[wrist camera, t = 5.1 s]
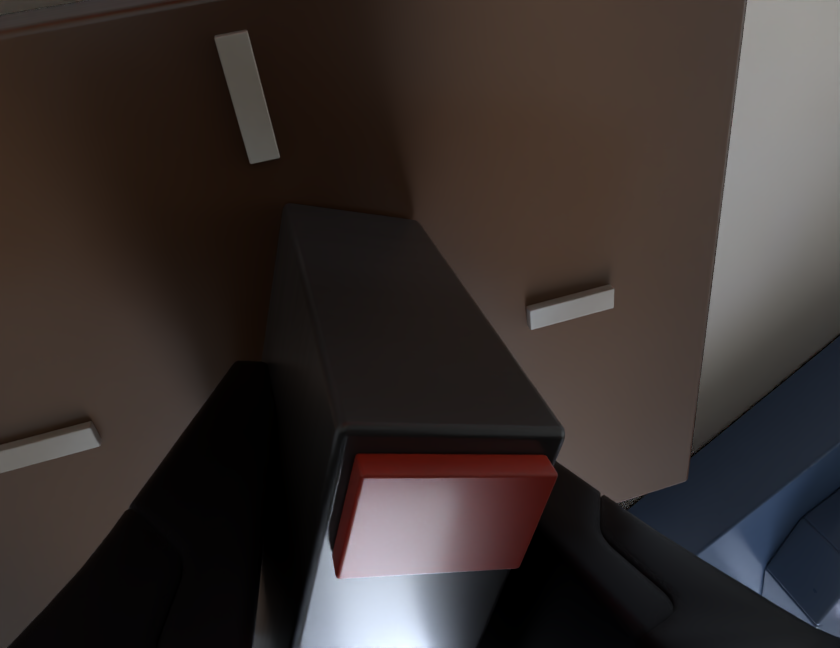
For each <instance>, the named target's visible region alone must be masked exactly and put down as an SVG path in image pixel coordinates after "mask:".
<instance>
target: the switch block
mask: <svg viewBox="0 0 840 648" xmlns="http://www.w3.org/2000/svg"><path fill="white" fill-rule="evenodd" d="M627 511H628V512H630V513H631V514H633V515H634V516H636V517H637V518H639V519H640V520H642V521H643V522H645V523H646V524H648V525H649V526H651V527H652V528H653V529H655V530H656V531H658V532H659V533H661V534H662V535H664V536H666V537H667V538H669V539H670V540H672V541H674V542H675V543H677V544H678V545H680V546H682V547H683V548H685V549H686V550H688V551H690V552H691V553H693V554H694V555H696V556H698V557H699V558H701V559H702V560H704V561H706V562H707V563H709V564H711V565H712V566H714V567H716V568H717V569H719V570H721V571H722V572H724V573H725V574H727V575H729V576H730V577H732V578H734V579H735V580H737V581H739V582H740V583H742V584H744V585H745V586H747V587H748V588H750V589H752V590H753V591H755V592H757V593H758V594H760V595H762V596H763V597H765V598H767V599H768V600H770V601H771V602H773V603H775V604H776V605H778V606H780V607H781V608H783V609H785V610H786V611H788V612H790V613H791V614H793V615H794V616H796V617H798V618H800V619H801V620H803V621H805V622H807V623H808V624H810V625H812V626H814V627H816V628H818V629H820V630H823V631H825V632H827V633H829V634H831V635H834V636H837V637H839V638H840V336H839V337H838V338H837V339H835V340H834V341H833V342H832V343H830V344H829V345H828V346H827V347H826V348H824V349H823V350H822V351H821V352H820V353H818V354H817V355H816V356H815V357H813V358H812V359H811V360H810V361H809V362H807V363H806V364H805V365H804V366H802V367H801V368H800V369H799V370H798V371H796V372H795V373H794V374H793V375H791V376H790V377H789V378H788V379H787V380H785V381H784V382H783V383H782V384H781V385H779V386H778V387H777V388H776V389H774V390H773V391H772V392H771V393H770V394H768V395H767V396H766V397H765V398H763V399H762V400H761V401H760V402H759V403H757V404H756V405H755V406H754V407H752V408H751V409H750V410H749V411H748V412H746V413H745V414H744V415H743V416H742V417H740V418H739V419H738V420H737V421H735V422H734V423H733V424H732V425H731V426H729V427H728V428H727V429H726V430H724V431H723V432H722V433H721V434H720V435H718V436H717V437H716V438H715V439H713V440H712V441H711V442H710V443H709V444H707V445H706V446H705V447H704V448H703V449H701V450H700V451H699V452H698V453H696V454H695V455H694V456H693V457H692V458H690V466H689V474H688V479H687V480H686V481H685V482H683V483H679V484H676V485H673V486H670V487H667V488H664V489H661V490H658V491H654V492H651V493H648V494H646V495H645V496H644V497H643V498H642V499H640V500H639V501H638V502H637V503H635V504H634V505H633V506H632V507H631V508H629V509H628V510H627Z"/></svg>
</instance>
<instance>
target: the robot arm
mask: <svg viewBox="0 0 840 648" xmlns="http://www.w3.org/2000/svg"><path fill="white" fill-rule="evenodd" d="M275 426H276V407H275V401H274V396H273V391H272V387H271V382H270V377H269V372H268V367H267V364H266V363H265V362H262V361H236V362H234V364H233V365H232V366H231V367H230V369H229V370H228V372H227V373H226V374H225V376H224V377H223V378H222V380H221V381H220V382H219V384H218V385H217V387H216V388H215V389H214V391H213V392H212V393H211V395H210V396H209V398H208V399H207V400H206V402H205V403H204V404H203V406H202V407H201V408H200V410H199V411H198V413H197V414H196V415H195V417H194V418H193V419H192V421H191V422H190V423H189V425H188V426H187V428H186V429H185V430H184V432H183V433H182V434H181V436H180V437H179V439H178V440H177V441H176V443H175V444H174V445H173V447H172V448H171V449H170V451H169V452H168V454H167V455H166V456H165V458H164V459H163V460H162V462H161V463H160V464H159V466H158V467H157V469H156V470H155V471H154V473H153V474H152V475H151V477H150V478H149V480H148V481H147V482H146V484H145V485H144V486H143V488H142V489H141V490H140V492H139V493H138V495H137V496H136V497H135V499H134V500H133V501H132V503H131V504H130V506H129V509H128V510H126V511H125V512H124V513H123V515H122V516H121V517H120V519H119V520H118V521H117V523H116V524H115V525H114V527H113V528H112V530H111V531H110V532H109V534H108V535H107V536H106V537H105V539H104V540H103V541H102V543H101V544H100V545H99V546H98V548H97V549H96V550H95V551H94V553H93V554H92V555H91V556H90V558H89V559H88V560H87V561H86V563H85V564H84V565H83V566H82V568H81V569H80V570H79V571H78V572H77V573H76V574H75V575H74V577H73V578H72V579H71V580H70V581H69V582H68V583H67V584H66V585H65V586H64V588H63V589H62V590H61V591H60V592H59V593H58V594H57V595H56V596H55V597H54V599H53V600H52V601H51V602H50V603H49V604H48V605H47V606H46V607H45V608H44V610H43V611H42V612H41V613H40V614H39V615H38V616H37V617H36V618H35V619H34V620H33V621H32V622H31V623H30V624H29V625H28V626H27V627H26V628H25V629H24V630H23V631H22V632H21V634H20V635H19V636H18V637H17V638H16V639H15V640H14V641H13V642H12V643H11V644H10V645H9V646H8V647H7V648H253V647H254V637H255V627H256V617H257V607H258V597H259V587H260V577H261V567H262V557H263V547H264V537H265V527H266V517H267V507H268V497H269V487H270V477H271V466H272V456H273V446H274V436H275ZM553 467H554V468H555V470H556V471H557V474H558V477H557V480H556V482H555V484H554V487H553V489H552V491H551V494H550V496H549V499H548V501H547V503H546V506H545V508H544V510H543V513H542V515H541V517H540V520H539V522H538V525H537V527H536V529H535V532H534V534H533V536H532V539H531V541H530V544H529V546H528V548H527V551H526V553H525V555H524V558H523V560H522V563H521V565H520V567H519V568H517V569H511V570H510V573H509V575H508V577H507V580H506V582H505V585H504V587H503V590H502V592H501V594H500V597H499V599H498V602H497V604H496V606H495V609H494V611H493V614H492V616H491V619H490V621H489V623H488V626H487V628H486V631H485V633H484V635H483V638H482V640H481V643H480V645H479V648H840V638H839V637H837V636H834V635H831V634H829V633H827V632H825V631H823V630H820V629H818V628H816V627H814V626H812V625H810V624H808V623H807V622H805V621H803V620H801V619H800V618H798V617H796V616H794V615H793V614H791V613H790V612H788V611H786V610H785V609H783V608H781V607H780V606H778V605H776V604H775V603H773V602H771V601H770V600H768V599H767V598H765V597H763V596H762V595H760V594H758V593H757V592H755V591H753V590H752V589H750V588H748V587H747V586H745V585H744V584H742V583H740V582H739V581H737V580H735V579H734V578H732V577H730V576H729V575H727V574H725V573H724V572H722V571H721V570H719V569H717V568H716V567H714V566H712V565H711V564H709V563H707V562H706V561H704V560H702V559H701V558H699V557H698V556H696V555H694V554H693V553H691V552H690V551H688V550H686V549H685V548H683V547H682V546H680V545H678V544H677V543H675V542H674V541H672V540H670V539H669V538H667V537H666V536H664V535H662V534H661V533H659V532H658V531H656V530H655V529H653V528H652V527H651V526H649V525H648V524H646V523H645V522H643V521H642V520H640V519H639V518H637V517H636V516H634V515H633V514H631V513H630V512H628V511H627V510H625V509H624V508H623V507H621V506H620V505H618V504H617V503H616V502H614V501H613V500H611V499H610V498H609V497H607V496H606V495H602V496H601V494H600V492H599V491H598V490H597V489H595V488H594V487H593V486H591V485H590V484H588V483H587V482H585V481H584V480H583V479H581V478H580V477H578V476H577V475H575V474H574V473H573V472H571V471H570V470H568V469H567V468H565V467H564V466H563V465H561V464H560V463H558V462H557V461H555V464H554V466H553Z"/></svg>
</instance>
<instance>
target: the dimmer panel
mask: <svg viewBox="0 0 840 648" xmlns="http://www.w3.org/2000/svg"><path fill="white" fill-rule="evenodd" d="M746 5H747V0H87V1H81V2H75V3H69V4H63V5H58V6H52V7H46V8H40V9H34V10H28V11H22V12H17V13H11V14H5V15H0V648H7V647H8V646H9V645H10V644H11V643H12V642H13V641H14V640H15V639H16V638H17V637H18V636H19V635H20V634H21V632H22V631H23V630H24V629H25V628H26V627H27V626H28V625H29V624H30V623H31V622H32V621H33V620H34V619H35V618H36V617H37V616H38V615H39V614H40V613H41V612H42V611H43V610H44V608H45V607H46V606H47V605H48V604H49V603H50V602H51V601H52V600H53V599H54V597H55V596H56V595H57V594H58V593H59V592H60V591H61V590H62V589H63V588H64V586H65V585H66V584H67V583H68V582H69V581H70V580H71V579H72V578H73V577H74V575H75V574H76V573H77V572H78V571H79V570H80V569H81V568H82V566H83V565H84V564H85V563H86V561H87V560H88V559H89V558H90V556H91V555H92V554H93V553H94V551H95V550H96V549H97V548H98V546H99V545H100V544H101V543H102V541H103V540H104V539H105V537H106V536H107V535H108V534H109V532H110V531H111V530H112V528H113V527H114V525H115V524H116V523H117V521H118V520H119V519H120V517H121V516H122V515H123V513H124V512H125V511H126V510H128V509H129V506H130V504H131V503H132V501H133V500H134V499H135V497H136V496H137V495H138V493H139V492H140V490H141V489H142V488H143V486H144V485H145V484H146V482H147V481H148V480H149V478H150V477H151V475H152V474H153V473H154V471H155V470H156V469H157V467H158V466H159V464H160V463H161V462H162V460H163V459H164V458H165V456H166V455H167V454H168V452H169V451H170V449H171V448H172V447H173V445H174V444H175V443H176V441H177V440H178V439H179V437H180V436H181V434H182V433H183V432H184V430H185V429H186V428H187V426H188V425H189V423H190V422H191V421H192V419H193V418H194V417H195V415H196V414H197V413H198V411H199V410H200V408H201V407H202V406H203V404H204V403H205V402H206V400H207V399H208V398H209V396H210V395H211V393H212V392H213V391H214V389H215V388H216V387H217V385H218V384H219V382H220V381H221V380H222V378H223V377H224V376H225V374H226V373H227V372H228V370H229V369H230V367H231V366H232V365H233V364H234V362H236V361H262V354H263V347H264V340H265V332H266V325H267V318H268V311H269V304H270V297H271V289H272V282H273V275H274V268H275V261H276V254H277V246H278V239H279V232H280V225H281V218H282V211H283V207H284V206H285V204H288V203H293V204H300V205H307V206H315V207H322V208H329V209H337V210H344V211H352V212H359V213H366V214H374V215H381V216H389V217H396V218H403V219H411V220H416V221H418V222H419V223H420V224H421V226H422V227H423V229H424V230H425V231H426V233H427V234H428V236H429V237H430V239H431V240H432V241H433V243H434V244H435V246H436V247H437V249H438V250H439V251H440V253H441V254H442V256H443V257H444V258H445V260H446V261H447V263H448V264H449V266H450V267H451V268H452V270H453V271H454V273H455V274H456V275H457V277H458V278H459V280H460V281H461V283H462V284H463V285H464V287H465V288H466V290H467V291H468V293H469V294H470V295H471V297H472V298H473V300H474V301H475V302H476V304H477V305H478V307H479V308H480V310H481V311H482V312H483V314H484V315H485V317H486V318H487V320H488V321H489V322H490V324H491V325H492V327H493V328H494V329H495V331H496V332H497V334H498V335H499V337H500V338H501V339H502V341H503V342H504V344H505V345H506V347H507V348H508V349H509V351H510V352H511V354H512V355H513V356H514V358H515V359H516V361H517V362H518V364H519V365H520V366H521V368H522V369H523V371H524V372H525V373H526V375H527V376H528V378H529V379H530V381H531V382H532V383H533V385H534V386H535V388H536V389H537V391H538V392H539V393H540V395H541V396H542V398H543V399H544V400H545V402H546V403H547V405H548V406H549V408H550V409H551V410H552V412H553V413H554V415H555V416H556V418H557V419H558V420H559V422H560V423H561V425H562V426H563V427H564V430H565V440H564V442H563V445H562V447H561V449H560V452H559V454H558V457H557V459H556V461H557V462H558V463H560V464H561V465H563V466H564V467H565V468H567V469H568V470H570V471H571V472H573V473H574V474H575V475H577V476H578V477H580V478H581V479H583V480H584V481H585V482H587V483H588V484H590V485H591V486H593V487H594V488H595V489H597V490H598V491H599V492H600V494H601V496H602V495H606V496H607V497H609V498H610V499H611V500H613V501H614V502H616V503H620V502H623V501H626V500H629V499H632V498H636V497H639V496H642V495H645V494H648V493H651V492H654V491H658V490H661V489H664V488H667V487H670V486H673V485H676V484H679V483H683V482H685V481H686V480H687V479H688V474H689V466H690V458H691V450H692V442H693V434H694V425H695V417H696V409H697V401H698V393H699V385H700V377H701V369H702V361H703V353H704V345H705V336H706V328H707V320H708V312H709V304H710V296H711V288H712V280H713V272H714V264H715V256H716V247H717V239H718V231H719V223H720V215H721V207H722V199H723V191H724V183H725V175H726V167H727V158H728V150H729V142H730V134H731V126H732V118H733V110H734V102H735V94H736V86H737V78H738V69H739V61H740V53H741V45H742V37H743V29H744V21H745V13H746Z"/></svg>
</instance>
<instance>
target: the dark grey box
mask: <svg viewBox="0 0 840 648" xmlns="http://www.w3.org/2000/svg"><path fill="white" fill-rule="evenodd" d="M262 362H265V363H266V364H267V367H268V372H269V377H270V382H271V387H272V391H273V396H274V401H275V407H276V426H275V436H274V446H273V456H272V466H271V477H270V487H269V497H268V507H267V517H266V527H265V537H264V547H263V557H262V567H261V577H260V587H259V597H258V607H257V617H256V627H255V637H254V647H253V648H479V645H480V643H481V640H482V638H483V635H484V633H485V631H486V628H487V626H488V623H489V621H490V619H491V616H492V614H493V611H494V609H495V606H496V604H497V602H498V599H499V597H500V594H501V592H502V590H503V587H504V585H505V582H506V580H507V577H508V575H509V573H510V570H511V569H517V568H519V567H520V565H521V563H522V560H523V558H524V555H525V553H526V551H527V548H528V546H529V544H530V541H531V539H532V536H533V534H534V532H535V529H536V527H537V525H538V522H539V520H540V517H541V515H542V513H543V510H544V508H545V506H546V503H547V501H548V499H549V496H550V494H551V491H552V489H553V487H554V484H555V482H556V480H557V477H558V474H557V471H556V470H555V468H554V467H553V466H554V464H555V461H556V459H557V457H558V454H559V452H560V449H561V447H562V445H563V442H564V440H565V430H564V427H563V426H562V425H561V423H560V422H559V420H558V419H557V418H556V416H555V415H554V413H553V412H552V410H551V409H550V408H549V406H548V405H547V403H546V402H545V400H544V399H543V398H542V396H541V395H540V393H539V392H538V391H537V389H536V388H535V386H534V385H533V383H532V382H531V381H530V379H529V378H528V376H527V375H526V373H525V372H524V371H523V369H522V368H521V366H520V365H519V364H518V362H517V361H516V359H515V358H514V356H513V355H512V354H511V352H510V351H509V349H508V348H507V347H506V345H505V344H504V342H503V341H502V339H501V338H500V337H499V335H498V334H497V332H496V331H495V329H494V328H493V327H492V325H491V324H490V322H489V321H488V320H487V318H486V317H485V315H484V314H483V312H482V311H481V310H480V308H479V307H478V305H477V304H476V302H475V301H474V300H473V298H472V297H471V295H470V294H469V293H468V291H467V290H466V288H465V287H464V285H463V284H462V283H461V281H460V280H459V278H458V277H457V275H456V274H455V273H454V271H453V270H452V268H451V267H450V266H449V264H448V263H447V261H446V260H445V258H444V257H443V256H442V254H441V253H440V251H439V250H438V249H437V247H436V246H435V244H434V243H433V241H432V240H431V239H430V237H429V236H428V234H427V233H426V231H425V230H424V229H423V227H422V226H421V224H420V223H419V222H418V221H416V220H411V219H403V218H396V217H389V216H381V215H374V214H366V213H359V212H352V211H344V210H337V209H329V208H322V207H315V206H307V205H300V204H293V203H288V204H285V206H284V207H283V211H282V218H281V225H280V232H279V239H278V246H277V254H276V261H275V268H274V275H273V282H272V289H271V297H270V304H269V311H268V318H267V325H266V332H265V340H264V347H263V354H262Z"/></svg>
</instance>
